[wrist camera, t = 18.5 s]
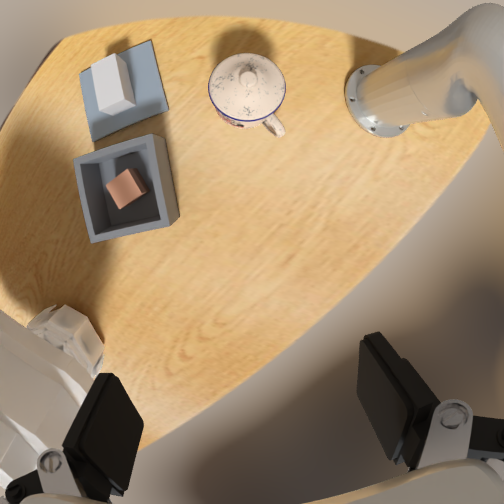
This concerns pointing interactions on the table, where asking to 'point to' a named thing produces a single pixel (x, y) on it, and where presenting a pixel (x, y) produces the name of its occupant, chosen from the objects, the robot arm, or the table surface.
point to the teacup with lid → (248, 92)
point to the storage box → (142, 210)
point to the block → (127, 187)
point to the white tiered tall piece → (42, 384)
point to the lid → (122, 90)
